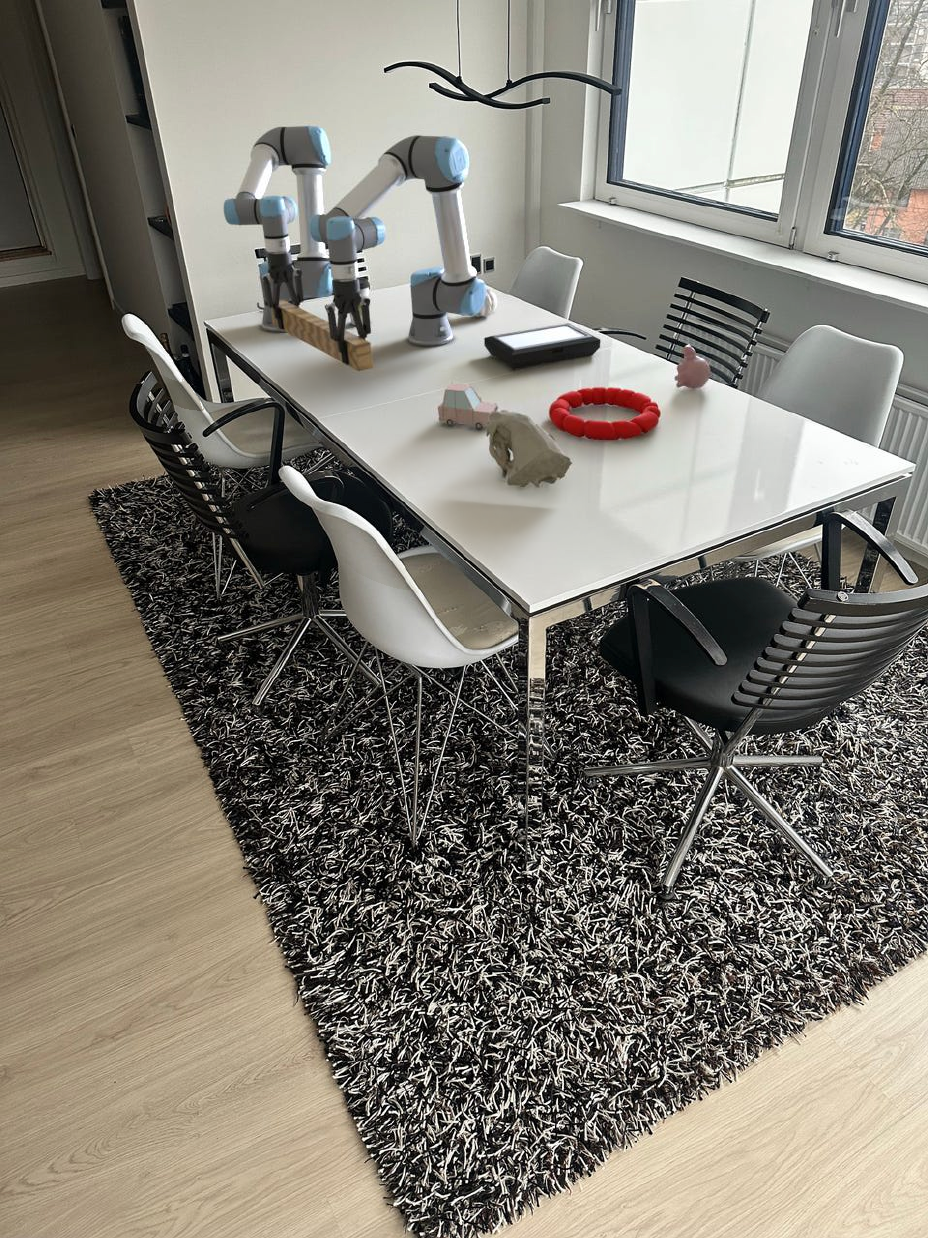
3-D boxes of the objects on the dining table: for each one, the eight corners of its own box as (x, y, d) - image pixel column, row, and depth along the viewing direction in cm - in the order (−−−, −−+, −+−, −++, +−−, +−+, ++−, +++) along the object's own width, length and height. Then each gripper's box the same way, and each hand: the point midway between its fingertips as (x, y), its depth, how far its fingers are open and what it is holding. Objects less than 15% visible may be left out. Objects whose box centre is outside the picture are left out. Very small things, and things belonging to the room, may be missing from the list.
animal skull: (496, 517, 219) (521, 479, 201) (463, 429, 225) (484, 384, 207) (557, 503, 225) (586, 465, 206) (523, 417, 231) (549, 373, 212)
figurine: (665, 387, 264) (669, 347, 257) (693, 380, 268) (698, 340, 261) (686, 396, 257) (690, 355, 250) (714, 388, 262) (720, 348, 255)
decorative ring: (589, 435, 224) (684, 402, 234) (527, 398, 247) (617, 369, 256) (589, 461, 229) (683, 427, 238) (529, 422, 251) (617, 393, 260)
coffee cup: (372, 326, 323) (368, 283, 314) (345, 327, 323) (340, 284, 315) (374, 318, 331) (371, 276, 322) (348, 319, 331) (344, 277, 323)
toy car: (488, 432, 240) (488, 396, 234) (436, 426, 244) (434, 390, 239) (499, 419, 247) (499, 384, 241) (448, 413, 252) (447, 379, 246)
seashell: (458, 316, 331) (457, 288, 325) (493, 309, 336) (492, 282, 331) (471, 322, 323) (471, 294, 318) (507, 316, 329) (507, 288, 323)
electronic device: (511, 352, 275) (484, 335, 290) (511, 372, 278) (484, 354, 294) (600, 336, 285) (569, 321, 300) (599, 356, 289) (569, 339, 304)
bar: (273, 324, 295) (270, 301, 291) (286, 322, 297) (282, 299, 293) (358, 371, 254) (356, 345, 249) (372, 368, 256) (370, 342, 251)
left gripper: (257, 257, 271) (268, 334, 284) (309, 248, 279) (318, 324, 292) (247, 253, 276) (259, 329, 289) (298, 244, 284) (308, 319, 297)
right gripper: (322, 286, 240) (332, 371, 253) (379, 275, 248) (386, 358, 261) (310, 280, 245) (320, 364, 258) (366, 270, 253) (373, 352, 266)
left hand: (288, 326), depth 290 cm, fingers closed on bar, 5 cm apart
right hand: (353, 361), depth 259 cm, fingers closed on bar, 5 cm apart
